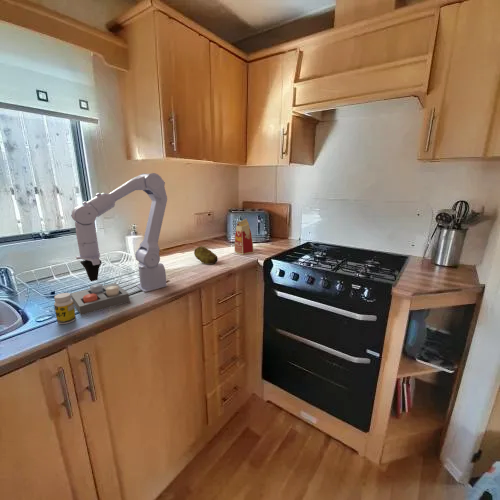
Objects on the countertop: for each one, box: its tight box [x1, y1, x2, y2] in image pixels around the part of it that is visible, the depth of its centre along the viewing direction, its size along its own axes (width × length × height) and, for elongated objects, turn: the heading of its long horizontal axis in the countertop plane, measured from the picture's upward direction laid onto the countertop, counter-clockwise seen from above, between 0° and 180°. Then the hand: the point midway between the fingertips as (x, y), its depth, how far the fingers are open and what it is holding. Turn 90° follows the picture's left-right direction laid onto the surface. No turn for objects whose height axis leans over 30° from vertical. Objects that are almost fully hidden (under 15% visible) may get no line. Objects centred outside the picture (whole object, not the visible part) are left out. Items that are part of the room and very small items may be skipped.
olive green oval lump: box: [193, 246, 219, 265], centre depth 141 cm, size 8×13×8 cm, turn 43°
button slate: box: [89, 283, 104, 294], centre depth 98 cm, size 4×4×3 cm
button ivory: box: [106, 286, 119, 297], centre depth 96 cm, size 4×4×3 cm
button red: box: [83, 294, 98, 303], centre depth 92 cm, size 4×4×3 cm
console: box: [69, 282, 130, 316], centre depth 96 cm, size 15×14×3 cm
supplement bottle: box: [53, 292, 77, 325], centre depth 82 cm, size 5×5×8 cm
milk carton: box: [234, 218, 254, 255], centre depth 159 cm, size 9×9×20 cm
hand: (93, 280), depth 95 cm, fingers closed
